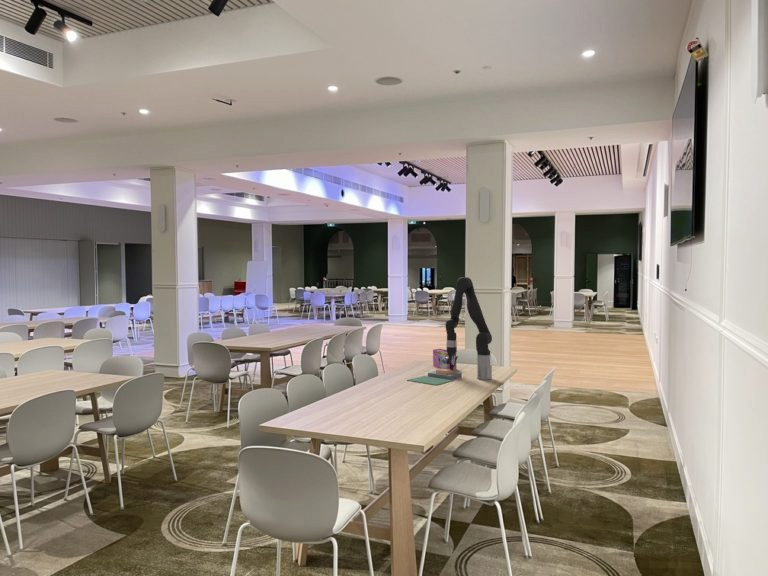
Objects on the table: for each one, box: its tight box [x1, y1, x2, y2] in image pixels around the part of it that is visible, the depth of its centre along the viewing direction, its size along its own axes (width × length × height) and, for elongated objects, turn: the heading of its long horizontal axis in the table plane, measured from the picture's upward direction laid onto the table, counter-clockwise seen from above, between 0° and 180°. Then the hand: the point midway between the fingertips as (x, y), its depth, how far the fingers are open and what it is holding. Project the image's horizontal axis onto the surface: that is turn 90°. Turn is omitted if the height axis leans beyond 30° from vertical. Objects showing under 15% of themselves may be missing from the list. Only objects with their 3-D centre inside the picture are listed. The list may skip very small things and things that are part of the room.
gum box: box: [432, 348, 457, 371], centre depth 452 cm, size 24×8×14 cm, turn 28°
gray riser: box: [427, 370, 463, 380], centre depth 413 cm, size 20×14×3 cm
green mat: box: [406, 375, 455, 386], centre depth 400 cm, size 26×20×1 cm
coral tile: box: [435, 368, 453, 375], centre depth 412 cm, size 9×7×2 cm
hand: (451, 369), depth 420 cm, fingers closed
